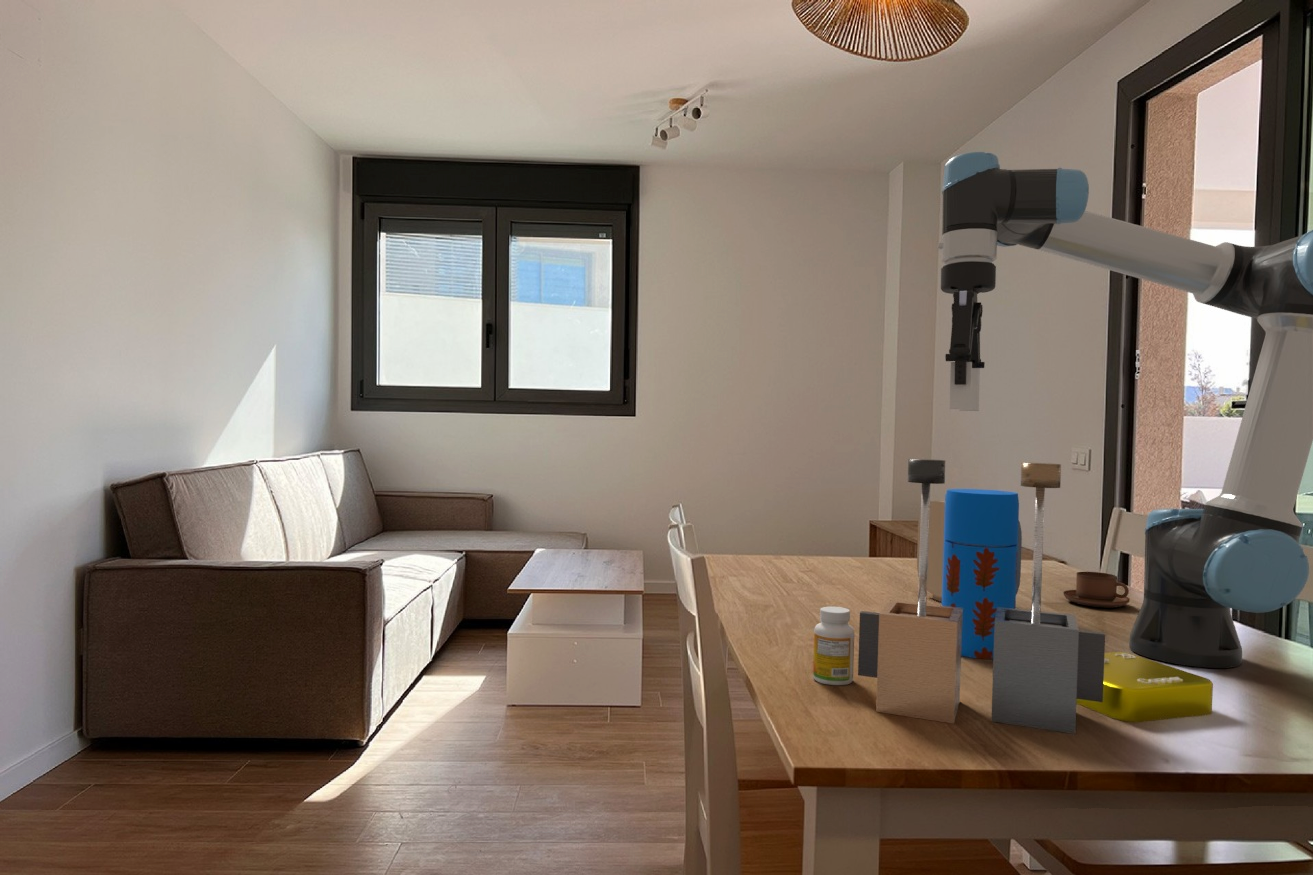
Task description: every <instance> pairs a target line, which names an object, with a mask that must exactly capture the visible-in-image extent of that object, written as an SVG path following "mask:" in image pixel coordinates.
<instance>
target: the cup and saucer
mask: <svg viewBox="0 0 1313 875" xmlns="http://www.w3.org/2000/svg"><path fill="white" fill-rule="evenodd" d="M1117 587H1122V588H1123V589H1124V593H1123V594H1119V593H1117ZM1075 588H1076V589H1069V590H1065V591H1063V596H1064V597H1065V598H1066V599H1067V600H1068V601H1070V602H1072V603H1075V604H1078V605H1082V606H1086V607H1092V608H1093V607H1094V608H1103V609H1104V608H1106V609H1107V608H1108V609H1109V608H1120V607H1123V606H1126V605H1127V604H1128V603H1130V600H1131V599H1130V598H1129V597H1128V595H1129V593H1130V592H1129V588H1128V586H1127V585H1126V584H1125V583H1123V582H1118V575H1115V574H1112V573H1105V572H1098V571H1077V572H1076V587H1075Z"/></svg>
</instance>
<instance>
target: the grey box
mask: <svg viewBox="0 0 1313 875" xmlns="http://www.w3.org/2000/svg"><path fill="white" fill-rule="evenodd" d="M1031 612H1032V609H1022V608H1015V609H1013V608H1003V607H997V611H996V617H995V627H994V657H993V659H992V660H993V661H992V686H991V687H992V688H991V689H992V690H991V692H992V693H991V694H992V696H991V722H995V723H1000V724H1008V725H1013V726H1020V727H1027V728H1034V729H1041V730H1045V731H1046V730H1047V731H1053V732H1059V733H1067V734H1073V735H1074V734H1076V723H1077V722H1076V721H1077V720H1076V718H1077V717H1076V716H1077V703H1076V699H1082V700H1090V701H1097V702H1103V681H1104V653H1106V652H1105V650H1106V633H1105V632H1103V631H1093V630H1087V629H1086V630H1085V629H1084V630H1083V629H1079V626H1078V625H1079V624H1078V622H1077V618H1076V614H1070V613H1061V612H1051V611H1050V612H1049V611H1042V610H1041V612H1040V623H1043V624H1052V625H1062V627H1061V626H1052V625H1042V624H1033V623H1024V622H1031ZM1009 620H1015V621H1024V622H1015V621H1009Z"/></svg>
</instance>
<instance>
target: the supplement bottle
mask: <svg viewBox="0 0 1313 875" xmlns="http://www.w3.org/2000/svg"><path fill="white" fill-rule="evenodd" d="M819 619H820V622H819V623H817V624H816V625H815V626H814V629H813V630H814V631H813V634H814V635H813V655H812V656H813V662H812V677H813V679H814V680H815V681H816V682H817V683H819V684H824V685H828V686H846V685H849V684H851V683H852V682H853V681H854V660H855V659H854V658H855V656H854V655H855V629H854V627H853V626H852V625H850V624H849V622H850V619H851V611H850V609H848V608H845V607H841V606H823V607H822V606H821V607H820V610H819Z"/></svg>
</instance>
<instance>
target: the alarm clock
mask: <svg viewBox="0 0 1313 875" xmlns="http://www.w3.org/2000/svg"><path fill="white" fill-rule="evenodd" d="M945 498H946V493H945V494H944V499H945ZM918 516H919V517H918V522H917V523H918V524H917V546H916V547H917V548H916V550H917V551H916V552H917V554H916V570H917V577H918V578H919V554H920V523H921V510H920V511H919V515H918ZM944 518H945V500H933V501H931V500H930V506H929V537H928V568H927V593H929V594H931V595H932V600H936V601H937V602H941V603H942V579H943V549H944V540H945V539H944ZM1022 533H1023V532H1022V527H1021V522H1020V520H1018V543H1017V545H1018V549H1017V578H1016V595H1018V592H1019V590H1020V585H1021V584H1020V583H1021V571H1022V570H1021V569H1022V568H1021V567H1022V547H1023V546H1022V545H1023V544H1022V543H1023V541H1022V540H1023V538H1022Z"/></svg>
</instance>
